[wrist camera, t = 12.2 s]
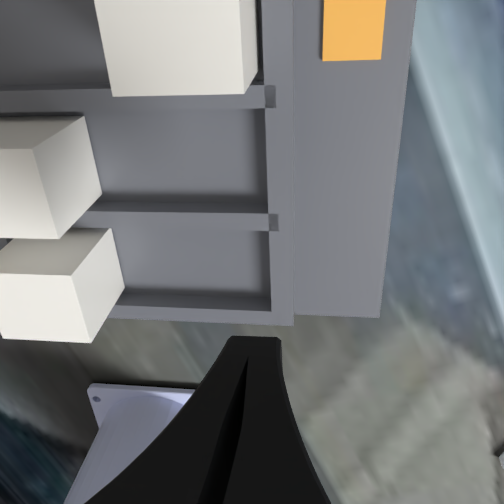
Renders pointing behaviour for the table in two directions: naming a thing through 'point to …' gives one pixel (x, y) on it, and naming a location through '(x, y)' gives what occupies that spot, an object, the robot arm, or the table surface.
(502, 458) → the external hard drive
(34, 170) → the white block
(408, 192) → the table surface
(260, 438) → the robot arm
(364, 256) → the switch bank
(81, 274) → the white block
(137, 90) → the white block
